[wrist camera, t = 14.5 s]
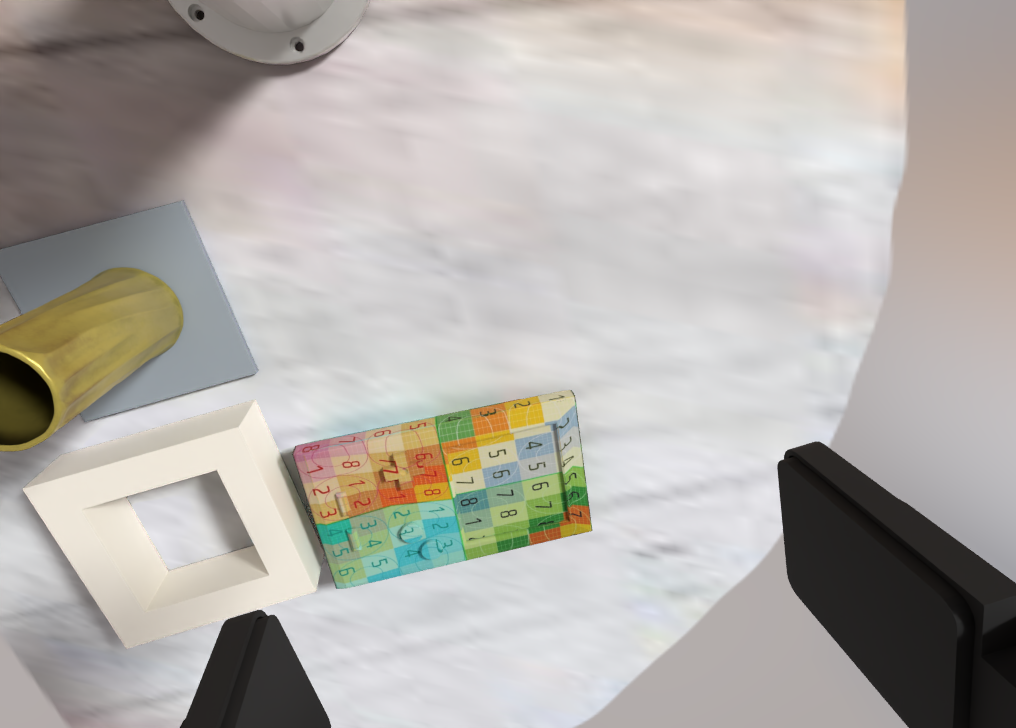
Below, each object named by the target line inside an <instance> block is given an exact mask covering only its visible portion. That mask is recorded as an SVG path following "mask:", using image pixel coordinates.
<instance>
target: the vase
mask: <svg viewBox="0 0 1016 728" xmlns="http://www.w3.org/2000/svg"><path fill="white" fill-rule="evenodd" d="M183 321H184V319H183V310H182V307H181V304H180V302H179V299H178V298H177V296H176V294H175V293H174V292H173V290H172V289H171V288H170V287H169V286H168V285H167V284H166V283H165V282H164V281H162V280H161V279H159V278H158V277H156V276H154V275H152V274H150V273H147V272H145V271H143V270H140V269H136V268H128V267H119V268H111V269H108V270H105V271H103V272H101V273H99V274H97V275H96V276H95V277H93V278H92V279H91V280H90V281H88V282H86V283H84V284H82V285H81V286H79V287H77V288H76V289H74V290H72V291H70V292H68V293H66V294H64V295H62V296H59V297H57V298H55V299H53V300H51V301H49V302H48V303H46V304H44V305H42V306H40V307H38V308H36V309H33V310H31V311H29V312H27V313H25V314H23V315H21V316H18V317H16V318H14V319H12V320H10V321H8V322H6V323H4V324H1V325H0V451H22V450H26V449H29V448H31V447H33V446H35V445H37V444H39V443H41V442H43V441H44V440H46V439H47V438H49V437H50V436H51V435H52V434H53V433H55V432H56V431H57V430H58V429H60V428H61V427H62V426H64V425H65V424H67V423H68V422H69V421H71V420H72V419H73V418H74V417H76V416H77V415H78V414H80V413H81V412H82V411H83V410H85V409H86V408H87V407H89V406H90V405H91V404H92V403H93V402H95V401H96V400H97V399H98V398H100V397H101V396H103V395H104V394H105V393H107V392H108V391H109V390H110V389H112V388H113V387H114V386H115V385H117V384H118V383H120V382H121V381H123V380H124V379H126V378H127V377H128V376H129V375H131V374H132V373H133V372H134V371H135V370H137V369H138V368H139V367H141V366H142V365H143V364H144V363H145V362H147V361H148V360H150V359H151V358H154V357H156V356H158V355H160V354H162V353H164V352H166V351H167V350H168V349H170V348H171V347H172V346H173V345H174V344H175V343H176V341H177V340H178V338H179V335H180V333H181V331H182V328H183Z"/></svg>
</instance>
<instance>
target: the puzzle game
mask: <svg viewBox="0 0 1016 728" xmlns="http://www.w3.org/2000/svg"><path fill="white" fill-rule="evenodd" d="M292 455H293V458H294V461H295V464H296V467H297V470H298V473H299V476H300V479H301V482H302V485H303V488H304V491H305V494H306V497H307V500H308V503H309V507H310V510H311V513H312V516H313V519H314V522H315V525H316V528H317V531H318V534H319V537H320V540H321V543H322V546H323V549H324V552H325V555H326V558H327V562H328V565H329V568H330V571H331V574H332V577H333V580H334V583H335V586H336V589H343V588H350V587H355V586H359V585H363V584H367V583H372V582H376V581H380V580H384V579H389V578H393V577H397V576H402V575H406V574H410V573H414V572H419V571H423V570H427V569H431V568H436V567H440V566H444V565H449V564H453V563H457V562H461V561H466V560H470V559H474V558H478V557H483V556H487V555H491V554H495V553H500V552H504V551H508V550H513V549H517V548H521V547H525V546H530V545H534V544H538V543H542V542H547V541H551V540H555V539H560V538H564V537H568V536H572V535H577V534H581V533H585V532H589V531H592V525H591V517H590V509H589V502H588V494H587V486H586V478H585V470H584V463H583V455H582V447H581V439H580V431H579V424H578V416H577V408H576V400H575V395H574V393H573V392H572V390H568V391H560V392H555V393H550V394H545V395H540V396H535V397H530V398H526V399H518V400H513V401H508V402H504V403H499V404H494V405H489V406H484V407H479V408H474V409H470V410H465V411H460V412H455V413H450V414H445V415H440V416H436V417H431V418H426V419H421V420H416V421H411V422H406V423H402V424H397V425H392V426H387V427H382V428H377V429H372V430H368V431H363V432H358V433H353V434H348V435H343V436H338V437H334V438H329V439H324V440H319V441H314V442H309V443H305V444H301V445H297V446H295V449H294V451H293V454H292Z"/></svg>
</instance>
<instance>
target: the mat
mask: <svg viewBox="0 0 1016 728" xmlns="http://www.w3.org/2000/svg"><path fill="white" fill-rule="evenodd" d="M119 267H128V268H136V269H140V270H143V271H145V272H147V273H150V274H152V275H154V276H156V277H158V278H159V279H161V280H162V281H164V282H165V283H166V284H167V285H168V286H169V287H170V288H171V289H172V290H173V292H174V293H175V294H176V296H177V298H178V299H179V302H180V304H181V307H182V310H183V319H184V321H183V328H182V331H181V333H180V335H179V338H178V340H177V341H176V343H175V344H174V345H173V346H172V347H171V348H170V349H168V350H167V351H166V352H164V353H162V354H160V355H158V356H156V357H154V358H151V359H150V360H148V361H147V362H145V363H144V364H143V365H142V366H141V367H139V368H138V369H137V370H135V371H134V372H133V373H132V374H131V375H129V376H128V377H127V378H126V379H124V380H123V381H121V382H120V383H118V384H117V385H115V386H114V387H113V388H112V389H110V390H109V391H108V392H107V393H105V394H104V395H103V396H101V397H100V398H98V399H97V400H96V401H95V402H93V403H92V404H91V405H90V406H89V407H87V408H86V409H85V410H83V411H82V412H81V413H80V415H81V417H82V418H83V420H84V422H87V421H90V420H94V419H97V418H101V417H104V416H108V415H111V414H115V413H118V412H122V411H126V410H129V409H133V408H136V407H140V406H143V405H147V404H150V403H154V402H157V401H161V400H164V399H168V398H172V397H175V396H179V395H182V394H186V393H189V392H193V391H196V390H200V389H203V388H207V387H210V386H214V385H217V384H221V383H225V382H228V381H232V380H235V379H239V378H242V377H246V376H249V375H253V374H256V373H257V372H258V368H257V366H256V364H255V362H254V359H253V357H252V355H251V353H250V350H249V348H248V346H247V343H246V341H245V339H244V337H243V334H242V332H241V330H240V327H239V325H238V323H237V321H236V318H235V316H234V314H233V311H232V309H231V307H230V305H229V302H228V300H227V298H226V295H225V293H224V291H223V289H222V286H221V284H220V282H219V279H218V277H217V275H216V273H215V270H214V268H213V266H212V264H211V261H210V259H209V257H208V254H207V252H206V250H205V248H204V245H203V243H202V241H201V238H200V236H199V234H198V232H197V229H196V227H195V225H194V222H193V220H192V218H191V216H190V213H189V211H188V209H187V206H186V204H185V202H184V200H183V201H179V202H175V203H172V204H168V205H164V206H160V207H157V208H153V209H149V210H146V211H142V212H138V213H134V214H131V215H127V216H123V217H119V218H116V219H112V220H108V221H104V222H101V223H97V224H93V225H89V226H86V227H82V228H78V229H74V230H71V231H67V232H63V233H59V234H56V235H52V236H48V237H44V238H41V239H37V240H33V241H29V242H26V243H22V244H18V245H15V246H11V247H7V248H3V249H0V276H1V278H2V280H3V281H4V283H5V285H6V287H7V288H8V290H9V292H10V294H11V295H12V297H13V299H14V300H15V302H16V304H17V306H18V307H19V309H20V311H21V313H22V314H25V313H27V312H29V311H31V310H33V309H36V308H38V307H40V306H42V305H44V304H46V303H48V302H49V301H51V300H53V299H55V298H57V297H59V296H62V295H64V294H66V293H68V292H70V291H72V290H74V289H76V288H77V287H79V286H81V285H82V284H84V283H86V282H88V281H90V280H91V279H92V278H93V277H95V276H96V275H97V274H99V273H101V272H103V271H105V270H108V269H111V268H119Z"/></svg>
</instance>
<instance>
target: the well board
mask: <svg viewBox="0 0 1016 728" xmlns="http://www.w3.org/2000/svg"><path fill="white" fill-rule="evenodd" d="M216 470H217V472H218V474H219V476H220V478H221V480H222V482H223V484H224V486H225V488H226V490H227V492H228V494H229V496H230V498H231V500H232V502H233V504H234V506H235V507H236V509H237V511H238V513H239V515H240V517H241V519H242V521H243V523H244V525H245V527H246V529H247V531H248V533H249V535H250V537H251V539H252V541H253V543H254V546H250V547H247V548H244V549H240V550H237V551H234V552H230V553H227V554H223V555H220V556H217V557H213V558H210V559H207V560H203V561H200V562H196V563H193V564H190V565H186V566H183V567H180V568H176V569H173V570H170V571H169V570H168V569H167V567H166V565H165V563H164V562H163V560H162V558H161V556H160V555H159V553H158V551H157V550H156V548H155V546H154V544H153V543H152V541H151V539H150V537H149V536H148V534H147V532H146V531H145V529H144V527H143V525H142V524H141V522H140V520H139V518H138V517H137V515H136V513H135V511H134V510H133V508H132V506H131V505H130V503H129V501H128V499H127V498H126V496H130V495H133V494H137V493H140V492H143V491H147V490H150V489H154V488H157V487H161V486H164V485H168V484H171V483H174V482H178V481H181V480H185V479H188V478H192V477H195V476H199V475H202V474H206V473H209V472H212V471H216ZM23 491H24V492H25V494H26V495H27V497H28V499H29V500H30V502H31V503H32V505H33V506H34V508H35V509H36V511H37V512H38V514H39V515H40V517H41V518H42V520H43V522H44V523H45V525H46V526H47V528H48V529H49V531H50V532H51V534H52V535H53V537H54V538H55V540H56V542H57V543H58V545H59V546H60V548H61V549H62V551H63V552H64V554H65V555H66V557H67V558H68V560H69V561H70V563H71V565H72V566H73V568H74V569H75V571H76V572H77V574H78V575H79V577H80V578H81V580H82V581H83V583H84V584H85V586H86V588H87V589H88V591H89V592H90V594H91V595H92V597H93V598H94V600H95V601H96V603H97V604H98V606H99V608H100V609H101V611H102V612H103V614H104V615H105V617H106V618H107V620H108V621H109V623H110V624H111V626H112V627H113V629H114V631H115V632H116V634H117V635H118V637H119V638H120V640H121V641H122V643H123V644H124V646H125V647H126V649H128V648H131V647H134V646H138V645H141V644H144V643H148V642H151V641H154V640H158V639H161V638H164V637H168V636H171V635H174V634H177V633H181V632H184V631H187V630H191V629H194V628H197V627H201V626H204V625H207V624H211V623H214V622H217V621H221V620H224V619H227V618H230V617H234V616H237V615H240V614H244V613H247V612H250V611H254V610H257V609H260V608H264V607H267V606H270V605H273V604H277V603H280V602H283V601H287V600H290V599H293V598H297V597H300V596H303V595H307V594H310V593H313V592H316V590H317V585H318V581H319V576H320V571H321V567H322V562H323V557H324V550H323V548H322V546H321V544H320V542H319V539H318V537H317V535H316V533H315V530H314V528H313V526H312V524H311V522H310V519H309V517H308V515H307V513H306V510H305V508H304V506H303V504H302V501H301V499H300V497H299V495H298V493H297V490H296V488H295V486H294V484H293V481H292V479H291V477H290V475H289V473H288V470H287V468H286V466H285V464H284V461H283V459H282V457H281V455H280V452H279V450H278V448H277V446H276V444H275V441H274V439H273V437H272V435H271V432H270V430H269V428H268V426H267V424H266V421H265V419H264V417H263V415H262V412H261V410H260V408H259V406H258V403H257V401H256V399H255V400H252V401H248V402H245V403H241V404H238V405H234V406H231V407H227V408H224V409H220V410H217V411H213V412H210V413H206V414H203V415H199V416H196V417H192V418H189V419H185V420H181V421H178V422H174V423H171V424H167V425H164V426H160V427H157V428H153V429H150V430H146V431H143V432H139V433H136V434H132V435H129V436H125V437H122V438H118V439H115V440H111V441H108V442H104V443H101V444H97V445H94V446H90V447H87V448H83V449H80V450H76V451H73V452H69V453H66V454H62V455H60V456H59V457H58V458H57V459H56V460H54V461H53V462H52V463H51V464H50V465H49V466H48V467H47V468H45V469H44V470H43V471H42V472H41V473H40V474H39V475H38V476H36V477H35V478H34V479H33V480H32V481H31V482H30V483H28V484H27V485H26V486H25V487H24V488H23Z"/></svg>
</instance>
